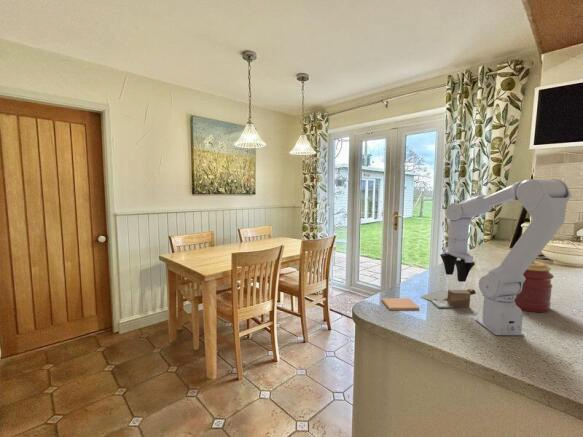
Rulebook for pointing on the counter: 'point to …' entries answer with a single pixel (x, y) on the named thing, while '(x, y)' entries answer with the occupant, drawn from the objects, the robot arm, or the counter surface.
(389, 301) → the tile
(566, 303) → the counter surface
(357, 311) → the counter surface
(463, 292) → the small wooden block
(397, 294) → the counter surface
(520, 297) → the canister
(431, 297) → the kitchen cleaver
